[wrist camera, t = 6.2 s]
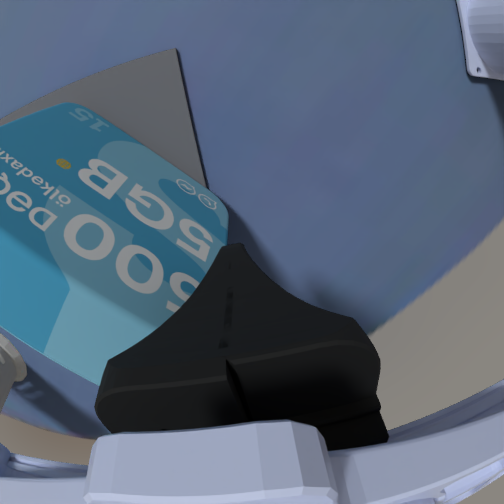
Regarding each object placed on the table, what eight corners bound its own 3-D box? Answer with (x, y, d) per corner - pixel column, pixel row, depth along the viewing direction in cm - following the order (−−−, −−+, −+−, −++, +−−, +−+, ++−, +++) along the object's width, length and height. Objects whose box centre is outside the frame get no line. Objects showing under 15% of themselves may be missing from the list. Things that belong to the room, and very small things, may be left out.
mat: (175, 48, 15) (175, 48, 15) (235, 302, 24) (235, 305, 24) (-24, 134, 16) (-26, 135, 15) (60, 329, 24) (59, 331, 24)
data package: (231, 204, 20) (225, 367, 10) (190, 253, 22) (159, 415, 11) (74, 97, 15) (-80, 164, 5) (45, 156, 17) (-83, 260, 7)
